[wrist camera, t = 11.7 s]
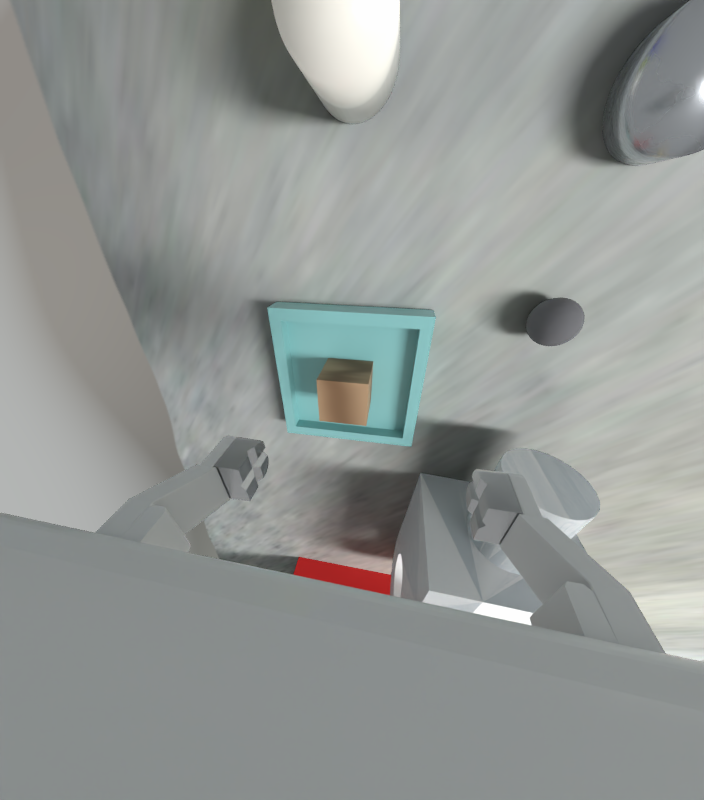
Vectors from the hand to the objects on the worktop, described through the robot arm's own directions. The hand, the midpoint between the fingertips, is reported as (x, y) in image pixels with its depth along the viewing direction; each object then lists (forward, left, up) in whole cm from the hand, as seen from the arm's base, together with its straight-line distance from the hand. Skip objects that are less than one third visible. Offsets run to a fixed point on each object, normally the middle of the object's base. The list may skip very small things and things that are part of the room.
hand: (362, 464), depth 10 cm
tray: (+4, +7, -20) cm, 22 cm away
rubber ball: (-14, -1, -18) cm, 23 cm away
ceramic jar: (+4, -17, -20) cm, 26 cm away
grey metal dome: (-16, -15, -20) cm, 30 cm away
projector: (-16, +30, -20) cm, 40 cm away
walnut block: (+4, +7, -19) cm, 21 cm away
